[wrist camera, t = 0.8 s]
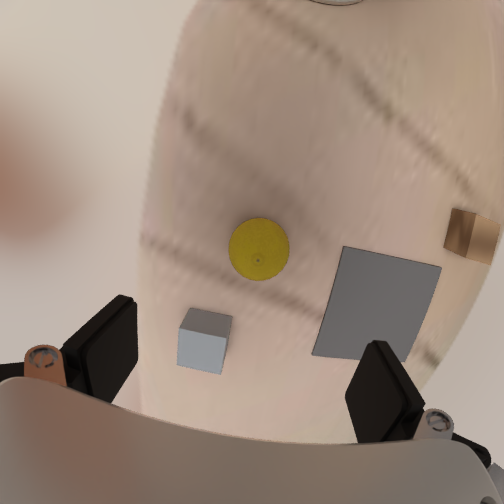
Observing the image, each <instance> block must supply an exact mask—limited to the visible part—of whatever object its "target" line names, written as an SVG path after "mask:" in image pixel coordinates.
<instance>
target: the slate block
mask: <svg viewBox="0 0 504 504" xmlns="http://www.w3.org/2000/svg"><path fill="white" fill-rule="evenodd" d="M231 321H232V316H228V315H223V314H218V313H213V312H208V311H203V310H198V309H194V308H190V310H189V311H188V313H187V315H186V317H185V318H184V320H183V322H182V324H181V325H180V327H179V335H178V352H177V365H179V366H183V367H187V368H191V369H196V370H200V371H205V372H210V373H214V374H219V375H221V372H222V368H223V364H224V359H225V355H226V351H227V345H228V339H229V333H230V327H231Z"/></svg>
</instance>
